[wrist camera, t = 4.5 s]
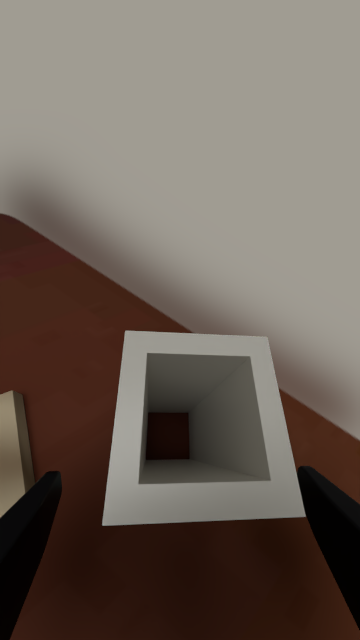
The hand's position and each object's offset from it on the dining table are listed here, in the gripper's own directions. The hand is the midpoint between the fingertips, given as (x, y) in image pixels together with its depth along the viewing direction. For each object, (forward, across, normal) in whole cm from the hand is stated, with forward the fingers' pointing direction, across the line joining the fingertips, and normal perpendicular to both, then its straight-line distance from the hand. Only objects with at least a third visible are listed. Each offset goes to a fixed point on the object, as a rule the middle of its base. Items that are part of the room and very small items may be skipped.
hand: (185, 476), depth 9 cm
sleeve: (+8, 0, +5) cm, 9 cm away
